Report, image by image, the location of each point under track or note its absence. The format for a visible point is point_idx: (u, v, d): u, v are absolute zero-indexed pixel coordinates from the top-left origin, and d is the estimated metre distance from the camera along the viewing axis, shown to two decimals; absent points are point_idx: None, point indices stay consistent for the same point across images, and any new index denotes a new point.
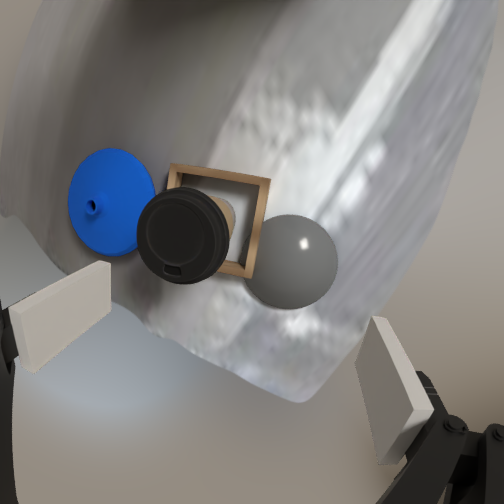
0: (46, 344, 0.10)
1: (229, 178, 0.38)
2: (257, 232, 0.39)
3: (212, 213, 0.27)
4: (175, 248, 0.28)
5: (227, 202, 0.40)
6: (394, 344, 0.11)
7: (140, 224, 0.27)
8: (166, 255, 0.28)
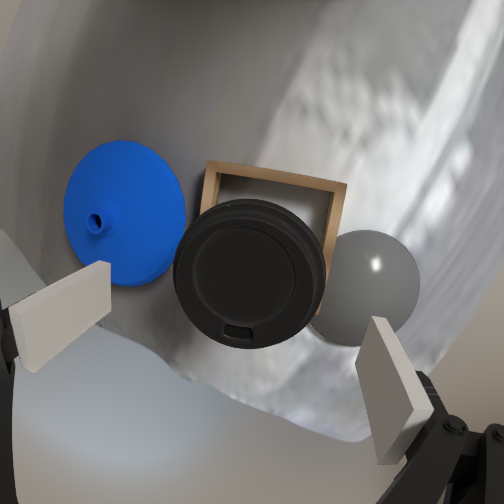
0: (46, 344, 0.10)
1: (292, 182, 0.27)
2: (329, 255, 0.28)
3: (304, 242, 0.17)
4: (244, 299, 0.17)
5: None
6: (394, 344, 0.11)
7: (182, 261, 0.17)
8: (227, 310, 0.18)
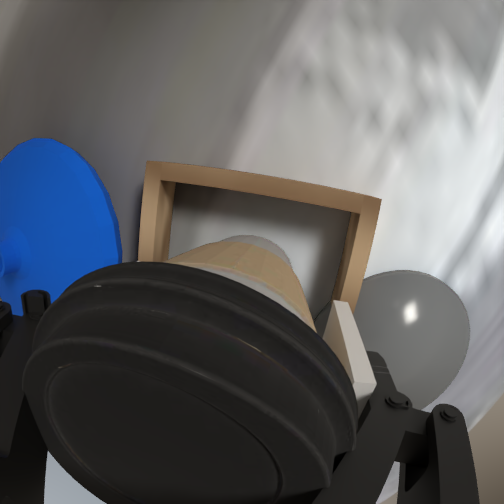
0: None
1: (288, 195, 0.16)
2: None
3: (313, 394, 0.05)
4: (164, 490, 0.06)
5: (278, 248, 0.18)
6: (349, 325, 0.12)
7: (28, 402, 0.05)
8: (137, 493, 0.06)
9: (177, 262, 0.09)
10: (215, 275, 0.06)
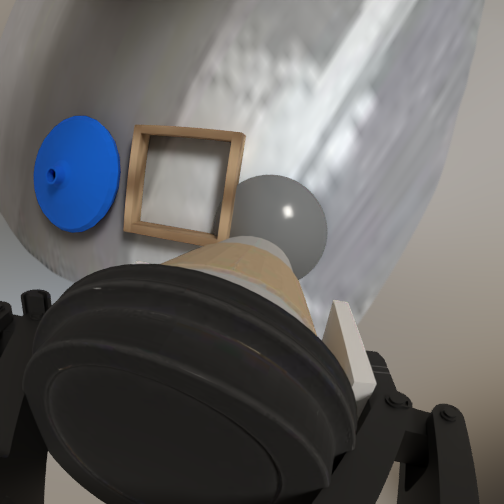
0: None
1: (197, 135, 0.32)
2: (229, 194, 0.33)
3: (312, 396, 0.05)
4: (164, 490, 0.06)
5: (278, 249, 0.18)
6: (349, 325, 0.12)
7: (29, 403, 0.05)
8: (137, 494, 0.06)
9: (177, 264, 0.09)
10: (215, 277, 0.06)
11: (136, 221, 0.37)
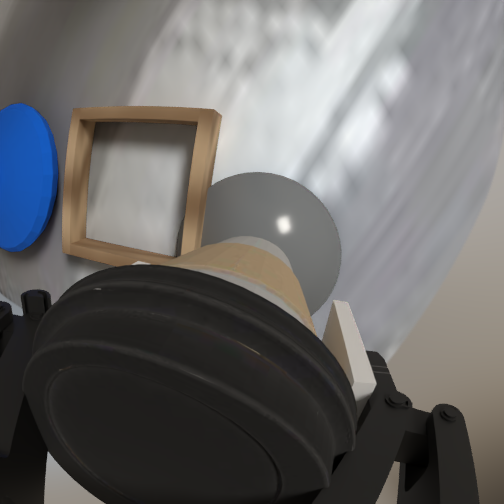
0: None
1: (150, 116, 0.21)
2: (195, 202, 0.22)
3: (312, 396, 0.05)
4: (164, 491, 0.06)
5: (278, 249, 0.18)
6: (349, 325, 0.12)
7: (29, 403, 0.05)
8: (137, 494, 0.06)
9: (177, 264, 0.09)
10: (214, 278, 0.06)
11: (79, 239, 0.26)
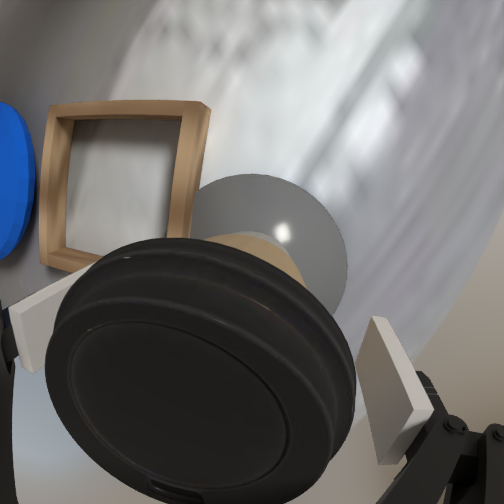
0: (46, 344, 0.10)
1: (129, 111, 0.18)
2: (179, 209, 0.19)
3: (315, 351, 0.06)
4: (177, 456, 0.07)
5: (279, 243, 0.19)
6: (394, 344, 0.11)
7: (50, 372, 0.06)
8: (150, 463, 0.07)
9: None
10: (230, 248, 0.07)
11: (58, 248, 0.23)
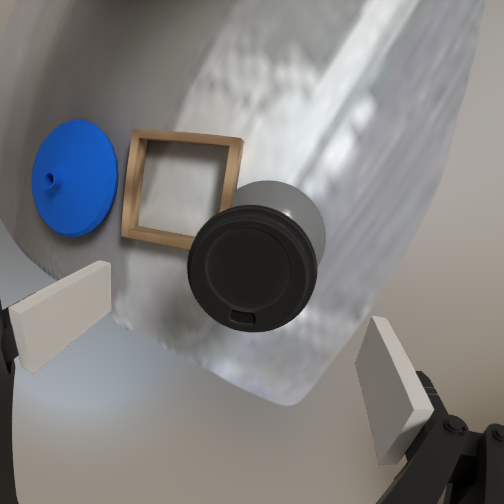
0: (46, 344, 0.10)
1: (195, 140, 0.32)
2: (227, 200, 0.33)
3: (298, 240, 0.21)
4: (248, 288, 0.21)
5: None
6: (394, 344, 0.11)
7: (196, 256, 0.21)
8: (234, 298, 0.21)
9: None
10: (269, 208, 0.21)
11: (134, 226, 0.37)
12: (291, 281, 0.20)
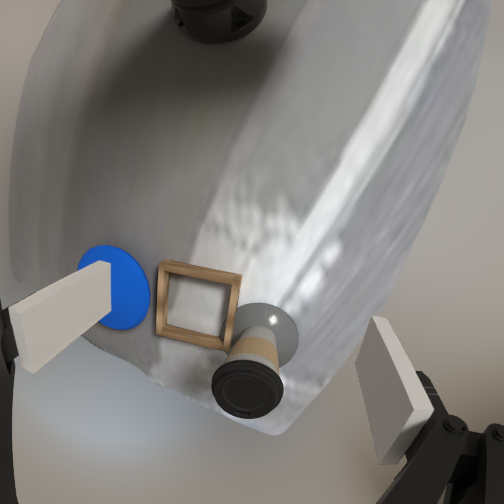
0: (46, 344, 0.10)
1: (207, 278, 0.47)
2: (231, 319, 0.48)
3: (272, 380, 0.36)
4: (245, 401, 0.36)
5: (270, 332, 0.48)
6: (394, 344, 0.11)
7: (217, 386, 0.36)
8: (238, 404, 0.36)
9: (245, 352, 0.39)
10: (257, 361, 0.36)
11: (164, 326, 0.52)
12: (268, 399, 0.35)
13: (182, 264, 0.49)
